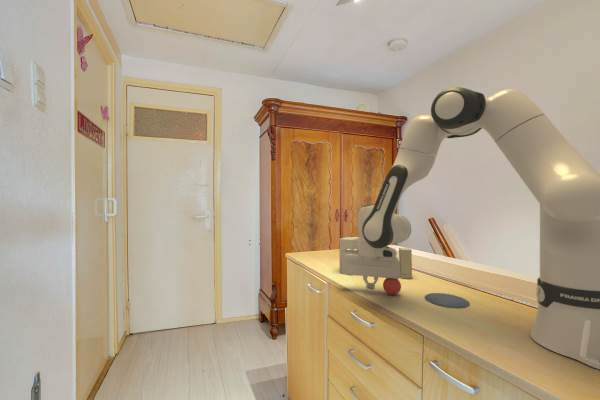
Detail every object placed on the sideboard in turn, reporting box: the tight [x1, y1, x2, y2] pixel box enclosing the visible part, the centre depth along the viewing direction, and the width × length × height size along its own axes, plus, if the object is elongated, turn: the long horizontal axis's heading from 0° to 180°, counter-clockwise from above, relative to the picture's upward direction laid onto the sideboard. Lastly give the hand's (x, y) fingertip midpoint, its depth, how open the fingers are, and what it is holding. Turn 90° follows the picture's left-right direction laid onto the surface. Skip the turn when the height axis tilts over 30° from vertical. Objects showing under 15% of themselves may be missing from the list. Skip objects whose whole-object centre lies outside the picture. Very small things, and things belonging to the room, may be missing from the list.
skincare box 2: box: [398, 247, 413, 280], centre depth 118 cm, size 6×4×12 cm
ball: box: [382, 278, 402, 296], centre depth 96 cm, size 6×6×6 cm
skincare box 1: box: [338, 236, 359, 275], centre depth 125 cm, size 8×7×16 cm
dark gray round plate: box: [424, 292, 471, 309], centre depth 91 cm, size 13×13×1 cm
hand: (370, 288), depth 98 cm, fingers closed
